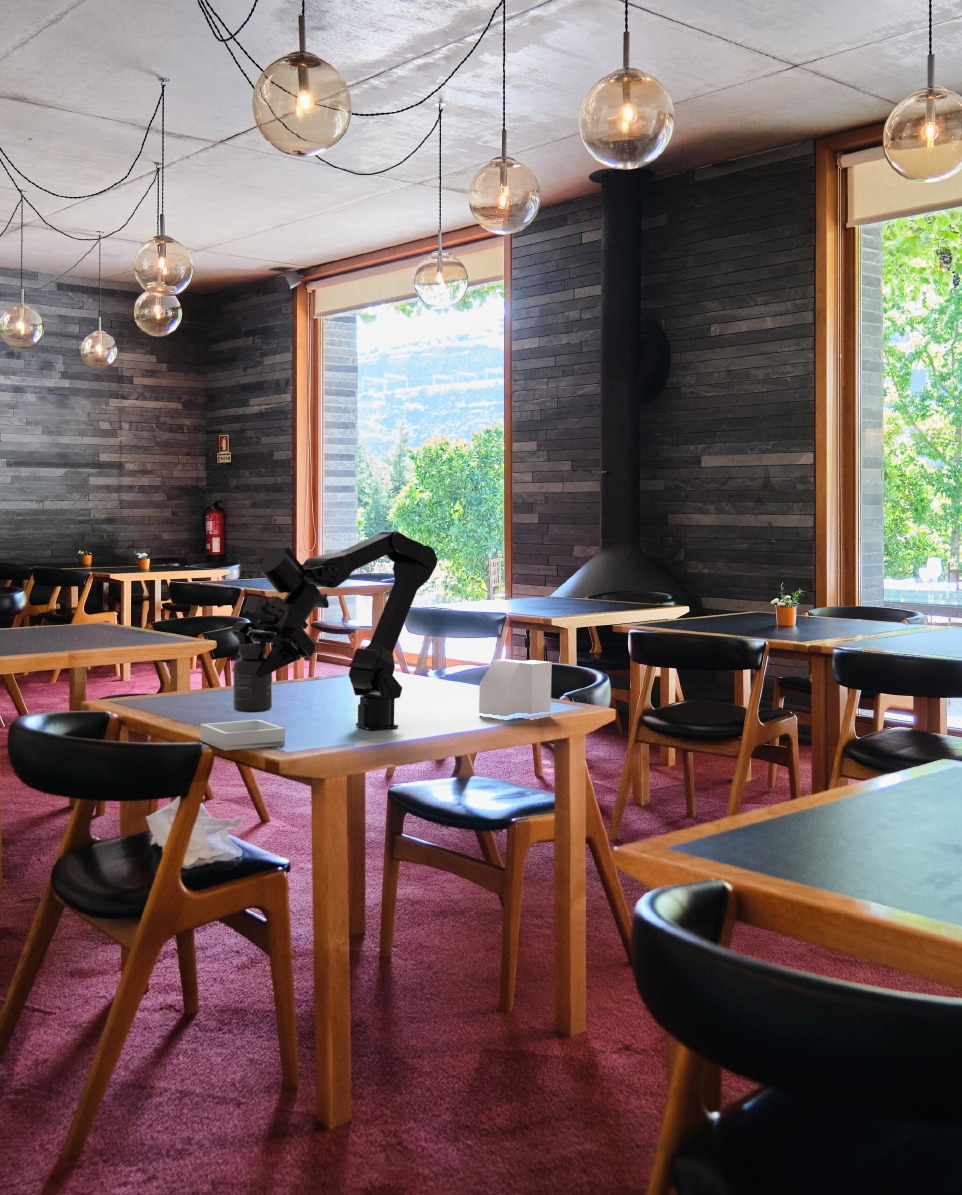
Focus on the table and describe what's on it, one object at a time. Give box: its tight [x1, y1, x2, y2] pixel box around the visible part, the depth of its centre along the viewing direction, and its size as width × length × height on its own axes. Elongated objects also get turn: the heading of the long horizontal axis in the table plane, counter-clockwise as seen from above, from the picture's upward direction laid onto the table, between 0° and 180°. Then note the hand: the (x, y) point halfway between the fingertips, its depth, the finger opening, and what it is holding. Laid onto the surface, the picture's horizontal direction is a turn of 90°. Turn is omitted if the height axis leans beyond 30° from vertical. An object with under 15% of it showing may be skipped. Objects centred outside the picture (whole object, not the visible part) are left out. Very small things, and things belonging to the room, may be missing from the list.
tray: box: [200, 719, 286, 752], centre depth 209 cm, size 12×12×3 cm
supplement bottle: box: [232, 643, 273, 714], centre depth 205 cm, size 7×7×12 cm
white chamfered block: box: [478, 658, 553, 716], centre depth 245 cm, size 11×11×12 cm
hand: (246, 674), depth 204 cm, fingers closed on supplement bottle, 7 cm apart
